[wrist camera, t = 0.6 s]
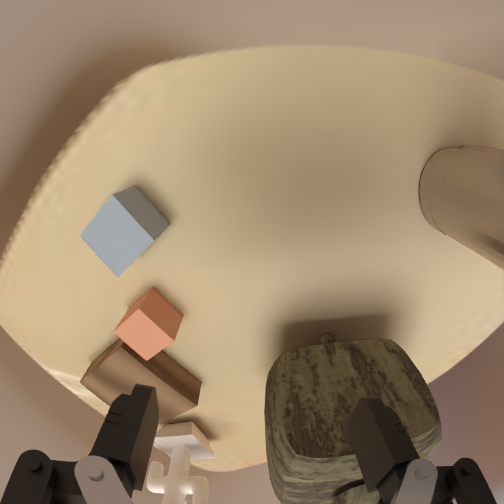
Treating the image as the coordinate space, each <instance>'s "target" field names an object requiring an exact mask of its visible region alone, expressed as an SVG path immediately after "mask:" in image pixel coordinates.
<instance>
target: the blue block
mask: <svg viewBox="0 0 504 504" xmlns="http://www.w3.org/2000/svg"><path fill="white" fill-rule="evenodd" d="M169 225H170V223H169V222H168V221H167V220H166V219H165V218H164V217H163V215H162V214H161V213H160V212H159V211H158V210H157V209H156V208H155V207H154V206H153V205H152V203H151V202H150V201H149V200H148V199H147V198H146V197H145V196H144V195H143V194H142V192H141V191H140V190H139V189H138V188H137V187H136V186H133V187H131V188H128V189H125V190H123V191H120V192H118V193H115V194H113V195H112V196H111V197H110V198H109V199H108V200H107V202H106V203H105V204H104V205H103V207H102V208H101V209H100V210H99V212H98V213H97V214H96V215H95V217H94V218H93V219H92V220H91V222H90V223H89V224H88V226H87V227H86V228H85V229H84V231H83V232H82V233H81V235H80V236H81V237H82V239H83V240H84V241H85V242H86V243H87V244H88V245H89V247H90V248H91V249H92V250H93V251H94V252H95V253H96V254H97V255H98V257H99V258H100V259H101V260H102V261H103V262H104V263H105V264H106V265H107V266H108V267H109V268H110V269H111V270H112V272H113V273H114V274H115V275H116V276H117V277H119V276H120V275H121V274H122V273H123V272H124V271H125V270H126V269H127V268H128V267H129V266H130V265H131V264H132V263H133V262H134V261H135V260H136V259H137V258H138V257H139V255H140V254H141V253H142V252H143V251H144V250H145V249H146V248H147V247H148V246H149V245H150V244H151V243H152V242H153V241H154V240H155V239H156V238H157V237H158V236H159V235H160V234H161V233H162V232H163V231H164V230H165V229H166V228H167V227H168V226H169Z"/></svg>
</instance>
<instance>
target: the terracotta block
mask: <svg viewBox="0 0 504 504" xmlns="http://www.w3.org/2000/svg"><path fill="white" fill-rule="evenodd" d="M182 318H183V315H182V314H181V313H180V312H179V311H177V310H176V309H175V308H174V307H173V306H172V305H171V304H170V303H169V302H168V301H167V300H166V299H165V298H164V297H163V296H162V295H161V294H160V293H159V292H158V291H157V290H156V289H155V288H154V287H152V288H151V289H150V290H148V291H147V292H146V293H145V294H144V295H143V296H142V297H141V298H140V299H139V300H138V301H137V302H136V303H134V304H133V305H132V306H131V307H130V308H129V309H128V311H127V312H126V314H125V315H124V317H123V318H122V320H121V321H120V323H119V324H118V326H117V327H116V329H115V330H114V333H115V334H116V335H117V336H119V337H120V338H121V339H122V340H123V341H124V342H125V343H126V344H127V345H129V346H130V347H131V348H132V349H133V350H134V351H136V352H137V353H138V354H139V355H140V356H141V357H143V358H144V359H145V360H146V361H147V360H149V359H150V358H152V357H153V356H154V355H156V354H157V353H158V352H160V351H161V350H162V349H164V348H165V347H167V346H168V345H169V344H171V343H172V342H173V341H174V340H175V337H176V335H177V332H178V329H179V326H180V324H181V321H182Z"/></svg>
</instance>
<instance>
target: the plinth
mask: <svg viewBox="0 0 504 504" xmlns="http://www.w3.org/2000/svg"><path fill="white" fill-rule="evenodd" d="M80 383H81V384H82V385H83V386H85V387H86V388H87V389H88V390H90V391H91V392H92V393H93V394H95V395H96V396H97V397H98V398H100V399H101V400H102V401H103V402H105V403H106V404H107V405H109V406H111V404H112V402H113V401H114V400H115V399H116V398H117V397H118V396H120V395H121V394H127V395H131V393H132V390H133V388H134V386H135V384H136V383H138V384H143V385H148V386H153V387H155V388H156V392H157V401H158V408H159V422H158V424H160V423H163V422H165V421H167V420H169V419H171V418H173V417H175V416H178V415H180V414H182V413H184V412H186V411H188V410H190V409H192V408H194V407H196V406H197V405H198V399H199V394H200V388H201V383H202V382H201V381H199V380H198V379H197V378H195V377H194V376H193V375H191V374H190V373H189V372H188V371H186V370H185V369H184V368H182V367H181V366H180V365H179V364H177V363H176V362H175V361H174V360H173V359H171V358H170V357H169V356H168V355H166V354H165V353H164V352H163V351H162V350H161V351H160V352H158V353H157V354H156V355H154V356H153V357H152V358H150V359H149V360H147V361H146V360H145V359H144V358H143V357H141V356H140V355H139V354H138V353H137V352H136V351H134V350H133V349H132V348H131V347H130V346H129V345H127V344H126V343H125V342H124V341H123V340H122V339H121V338H119V339H118V340H117V341H116V342H114V343H113V344H112V345H111V346H110V347H109V348H108V349H107V350H105V351H104V352H103V353H102V354H101V355H100V356H99V357H98V358H97V359H95V360H94V361H93V362H92V363H91V365H90V366H89V368H88V369H87V371H86V373H85V374H84V376H83V378H82V379H81V381H80Z"/></svg>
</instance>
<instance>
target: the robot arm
mask: <svg viewBox="0 0 504 504" xmlns="http://www.w3.org/2000/svg"><path fill="white" fill-rule="evenodd" d="M419 196H420V204H421V208H422V211H423V213H424V216H425V218H426V219H427V221H428V222H429V223H430V224H431V225H432V226H433V227H434V228H435V229H437V230H439V231H441V232H442V233H443V234H445V235H448V236H449V237H451V238H453V239H455V240H456V241H458V242H460V243H461V244H463V245H465V246H466V247H468V248H470V249H471V250H473V251H475V252H476V253H478V254H480V255H481V256H483V257H484V258H486V259H488V260H489V261H491V262H492V263H494V264H495V265H497V266H498V267H500V268H502V269H503V270H504V150H502V149H494V148H486V147H478V146H468V145H463V146H462V147H461V148H459V149H456V148H446V149H442V150H440V151H438V152H436V153H435V154H434V155H433V156H432V157H431V158H430V159H429V161H428V162H427V164H426V166H425V168H424V170H423V172H422V176H421V180H420V188H419ZM158 422H159V408H158V401H157V392H156V388H155V387H153V386H148V385H143V384H138V383H136V384H135V386H134V388H133V390H132V393H131V395H127V394H121V395H120V396H118V397H117V398H116V399H115V400H114V401H113V402H112V404H111V406H110V409H109V411H108V414H107V415H106V418H105V422H104V423H103V425H102V427H101V429H100V432H99V434H98V436H97V439H96V441H95V443H94V446H93V448H92V451H91V452H90V454H89V455H88V456H86V457H84V458H82V459H80V460H79V461H76V462H65V461H56V460H50V458H49V457H48V456H47V455H46V454H45V453H43V452H41V451H39V450H28V451H25V452H24V453H22V454H21V455H20V457H19V459H18V461H17V463H16V465H15V468H14V470H13V472H12V474H11V477H10V479H9V482H8V484H7V487H6V489H5V492H4V494H3V497H2V499H1V502H0V504H133V502H132V500H131V497H132V493H133V489H134V490H139V491H142V488H143V483H144V479H145V475H146V471H147V466H148V462H149V458H150V454H151V450H152V446H153V442H154V438H155V435H156V431H157V427H158ZM405 430H406V429H405V428H404V426H403V425H402V422H401V420H400V418H399V416H398V414H397V413H396V412H395V411H394V410H392V409H391V408H390V407H389V406H385V405H384V403H383V401H382V399H381V398H380V397H379V396H369V397H361V398H360V399H359V400H358V403H357V405H356V407H355V409H354V411H353V413H352V415H351V417H350V418H349V421H348V425H347V431H348V435H349V438H350V441H351V444H352V446H353V449H354V452H355V455H356V458H357V461H358V464H359V467H360V470H361V473H362V476H363V479H364V482H365V485H366V488H367V491H368V493H371V492H375V491H378V492H379V496H378V497H377V499H376V501H375V503H374V504H453V502H452V500H453V499H454V498H455V499H456V502H457V504H497V503H496V501H495V499H494V497H493V494H492V492H491V490H490V488H489V486H488V484H487V482H486V480H485V478H484V476H483V474H482V472H481V470H480V468H479V467H478V465H477V463H476V462H475V461H473V460H472V459H470V458H461V459H459V460H458V461H457V462H456V463H455V464H454V465H453V466H440V467H439V466H435V465H434V464H433V463H432V462H431V461H429V460H427V459H421V458H420V456H419V455H418V453H417V451H416V449H415V447H414V445H413V443H412V441H411V439H410V437H409V435H408V433H407V432H406V431H405Z"/></svg>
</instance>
